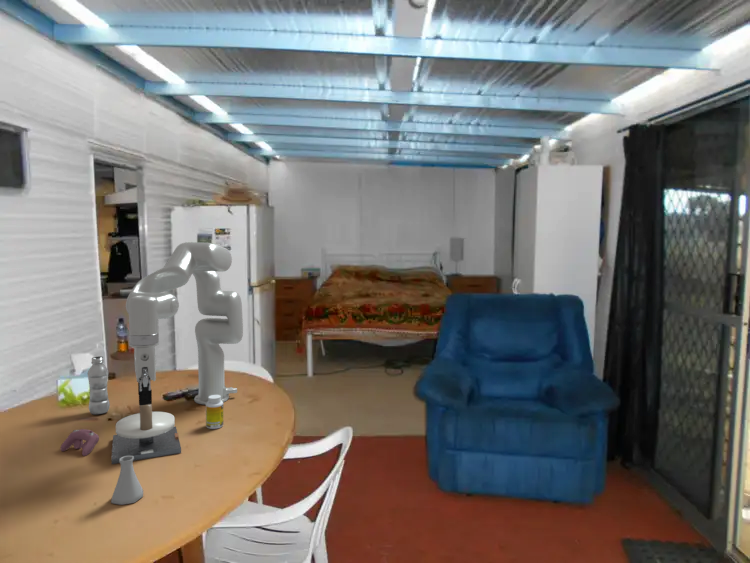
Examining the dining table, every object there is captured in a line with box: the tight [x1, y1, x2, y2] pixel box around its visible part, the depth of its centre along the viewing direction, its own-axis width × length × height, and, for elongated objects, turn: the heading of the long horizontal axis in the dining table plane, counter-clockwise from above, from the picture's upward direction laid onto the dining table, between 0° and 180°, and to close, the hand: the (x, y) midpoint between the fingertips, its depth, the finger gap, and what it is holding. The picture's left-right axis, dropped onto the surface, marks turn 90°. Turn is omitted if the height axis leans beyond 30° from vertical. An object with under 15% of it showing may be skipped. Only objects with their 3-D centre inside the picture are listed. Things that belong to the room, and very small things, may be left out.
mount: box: [111, 425, 182, 465], centre depth 150 cm, size 18×18×6 cm
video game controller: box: [60, 428, 100, 457], centre depth 147 cm, size 10×5×7 cm, turn 71°
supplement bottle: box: [205, 395, 224, 430], centre depth 167 cm, size 6×6×10 cm
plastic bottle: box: [87, 356, 111, 415], centre depth 176 cm, size 6×7×20 cm
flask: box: [110, 456, 144, 506], centre depth 121 cm, size 7×7×10 cm
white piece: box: [115, 403, 176, 438], centre depth 150 cm, size 16×16×9 cm
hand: (144, 399), depth 142 cm, fingers open, 9 cm apart
